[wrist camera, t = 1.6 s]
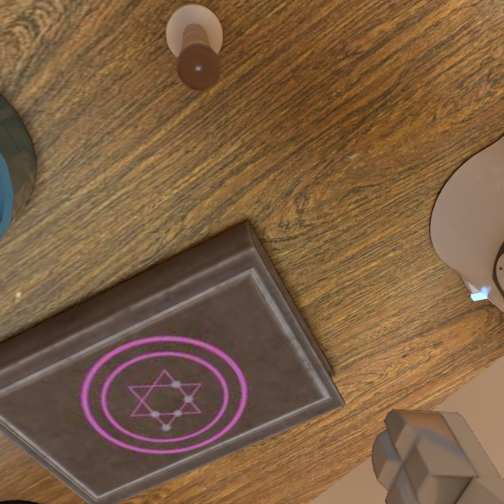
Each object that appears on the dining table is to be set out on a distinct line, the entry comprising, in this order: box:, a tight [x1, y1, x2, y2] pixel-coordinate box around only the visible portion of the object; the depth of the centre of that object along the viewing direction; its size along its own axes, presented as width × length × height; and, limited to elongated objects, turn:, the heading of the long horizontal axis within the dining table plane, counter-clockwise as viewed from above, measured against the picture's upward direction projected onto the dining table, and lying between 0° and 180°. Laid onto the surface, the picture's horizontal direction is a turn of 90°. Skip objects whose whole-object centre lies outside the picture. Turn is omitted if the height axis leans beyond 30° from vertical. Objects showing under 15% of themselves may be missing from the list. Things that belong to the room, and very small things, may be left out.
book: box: [0, 221, 346, 504], centre depth 48 cm, size 30×22×5 cm
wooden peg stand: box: [166, 3, 223, 91], centre depth 28 cm, size 4×4×17 cm
